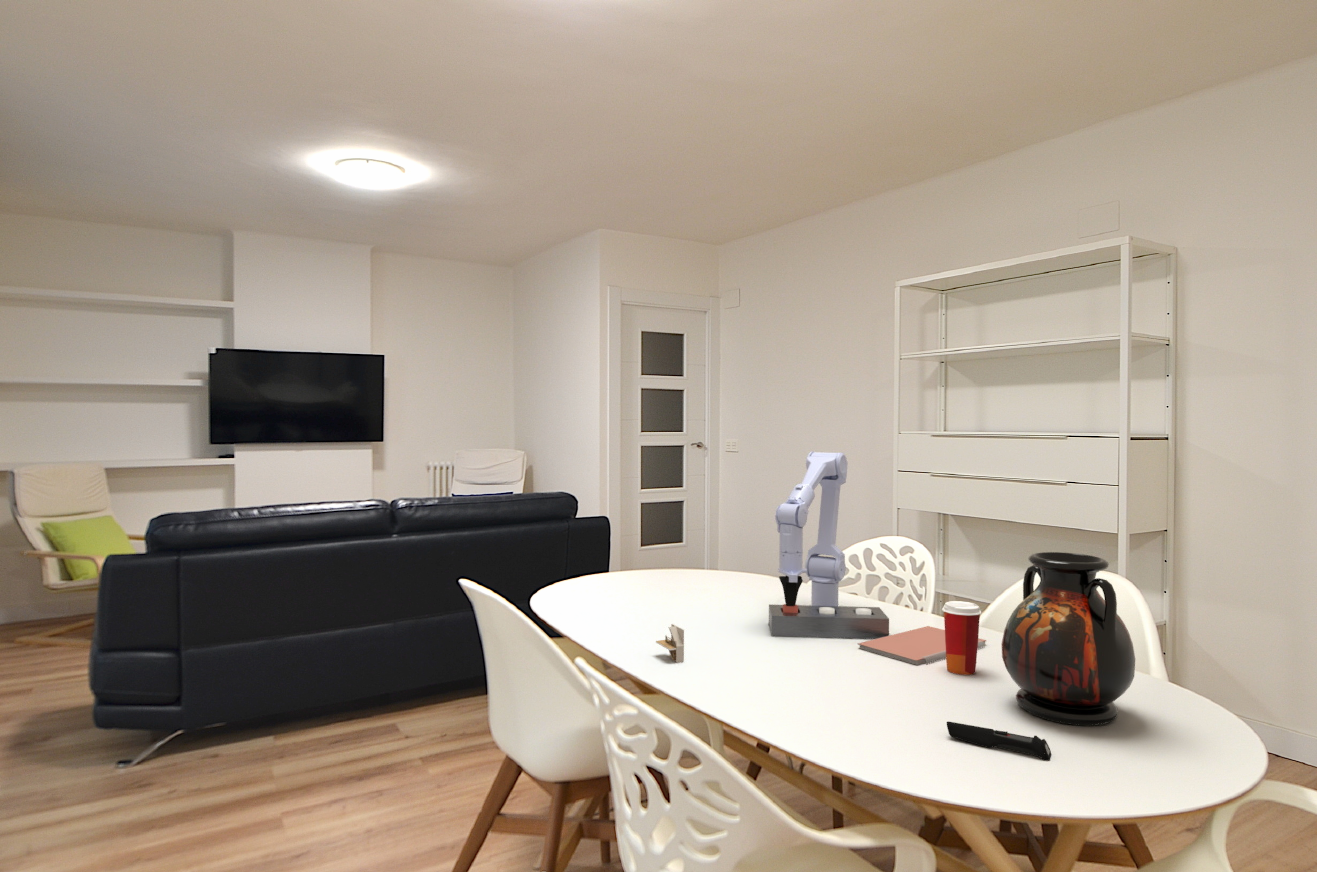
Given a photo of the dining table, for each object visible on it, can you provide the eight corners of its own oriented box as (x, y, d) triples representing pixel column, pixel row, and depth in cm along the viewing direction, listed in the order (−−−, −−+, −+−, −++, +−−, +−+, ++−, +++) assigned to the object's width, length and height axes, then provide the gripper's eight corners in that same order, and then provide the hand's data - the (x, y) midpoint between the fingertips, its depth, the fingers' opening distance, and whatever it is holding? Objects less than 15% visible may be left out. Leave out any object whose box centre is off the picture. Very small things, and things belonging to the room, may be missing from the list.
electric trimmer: (949, 735, 132) (949, 716, 132) (1051, 754, 124) (1051, 734, 124) (944, 742, 129) (944, 723, 129) (1049, 763, 121) (1049, 742, 121)
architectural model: (670, 666, 169) (670, 631, 169) (655, 657, 175) (656, 624, 175) (684, 664, 170) (684, 629, 170) (669, 655, 177) (669, 622, 176)
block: (768, 623, 203) (768, 604, 203) (878, 626, 201) (879, 607, 201) (771, 636, 191) (771, 615, 191) (888, 639, 189) (889, 618, 189)
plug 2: (854, 627, 197) (854, 607, 197) (869, 627, 197) (869, 608, 197) (856, 631, 194) (857, 611, 194) (872, 631, 193) (872, 611, 193)
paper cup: (974, 665, 169) (975, 600, 169) (985, 677, 161) (986, 609, 161) (936, 664, 170) (937, 599, 169) (946, 675, 162) (947, 608, 162)
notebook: (920, 669, 168) (920, 660, 168) (857, 650, 181) (857, 642, 181) (990, 648, 184) (990, 640, 184) (927, 632, 198) (928, 624, 198)
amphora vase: (975, 698, 149) (977, 551, 148) (1060, 685, 156) (1063, 545, 156) (1071, 741, 129) (1073, 571, 128) (1164, 724, 136) (1167, 563, 136)
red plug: (782, 623, 199) (782, 603, 199) (797, 623, 199) (797, 603, 199) (783, 627, 195) (783, 606, 195) (798, 627, 195) (798, 607, 195)
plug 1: (817, 626, 198) (818, 606, 198) (833, 626, 198) (833, 607, 198) (819, 630, 194) (820, 610, 194) (835, 630, 194) (835, 610, 194)
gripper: (810, 556, 189) (809, 612, 189) (804, 547, 203) (803, 599, 204) (780, 556, 190) (780, 612, 190) (776, 546, 204) (776, 598, 204)
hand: (790, 605), depth 197 cm, fingers closed, pressing on red plug
